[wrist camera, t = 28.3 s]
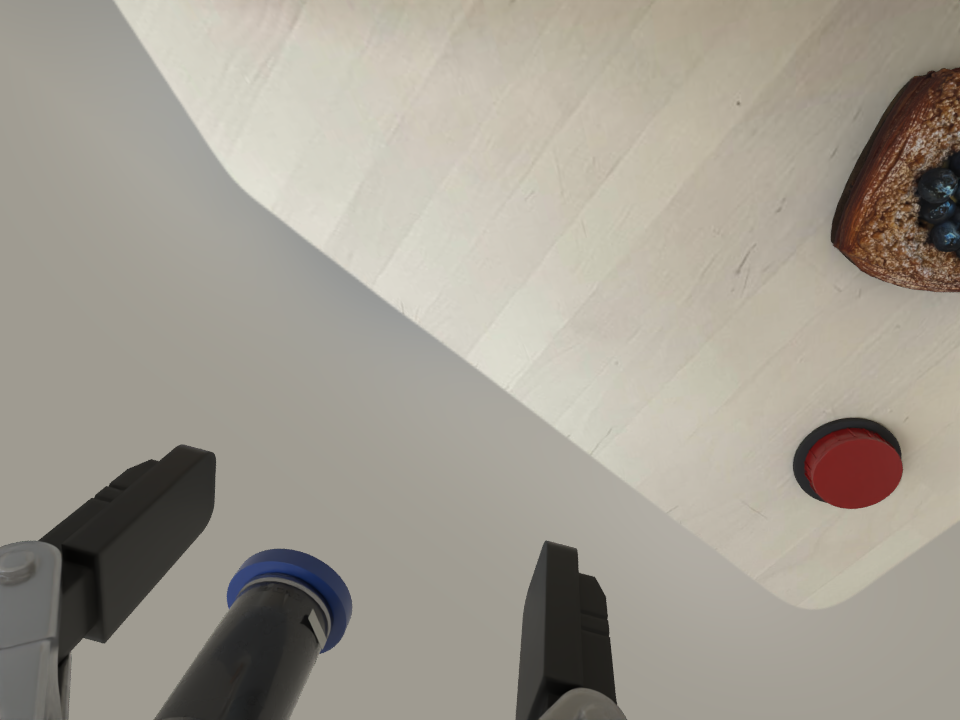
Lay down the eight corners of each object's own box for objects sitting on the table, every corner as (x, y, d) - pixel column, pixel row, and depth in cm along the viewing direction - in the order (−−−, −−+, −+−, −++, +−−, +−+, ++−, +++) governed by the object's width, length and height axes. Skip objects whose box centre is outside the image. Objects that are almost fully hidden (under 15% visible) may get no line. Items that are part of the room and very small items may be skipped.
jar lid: (829, 416, 40) (840, 427, 39) (908, 443, 40) (922, 454, 39) (787, 481, 42) (796, 493, 41) (862, 506, 42) (873, 520, 41)
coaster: (869, 511, 43) (872, 514, 42) (777, 487, 43) (779, 490, 43) (917, 432, 40) (920, 434, 40) (818, 407, 40) (821, 409, 40)
